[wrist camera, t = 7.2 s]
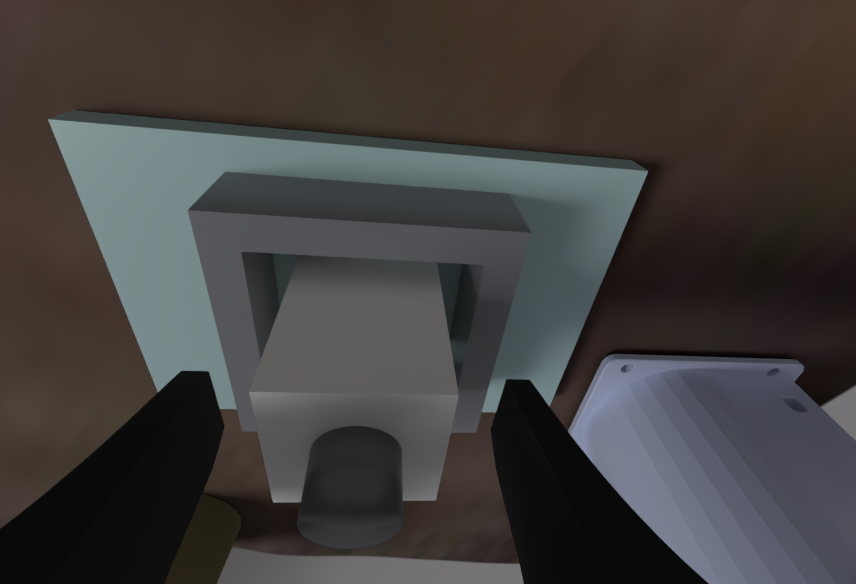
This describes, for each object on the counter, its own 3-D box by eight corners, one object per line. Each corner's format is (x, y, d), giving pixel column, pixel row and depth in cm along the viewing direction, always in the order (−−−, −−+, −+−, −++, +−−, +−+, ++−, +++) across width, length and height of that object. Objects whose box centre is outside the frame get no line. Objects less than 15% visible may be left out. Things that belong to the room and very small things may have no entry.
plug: (434, 246, 13) (470, 464, 7) (422, 340, 15) (441, 566, 9) (304, 239, 13) (222, 465, 6) (312, 337, 15) (256, 572, 9)
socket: (632, 160, 13) (700, 206, 10) (540, 395, 19) (565, 464, 16) (73, 110, 11) (-38, 149, 8) (175, 388, 17) (132, 465, 14)
